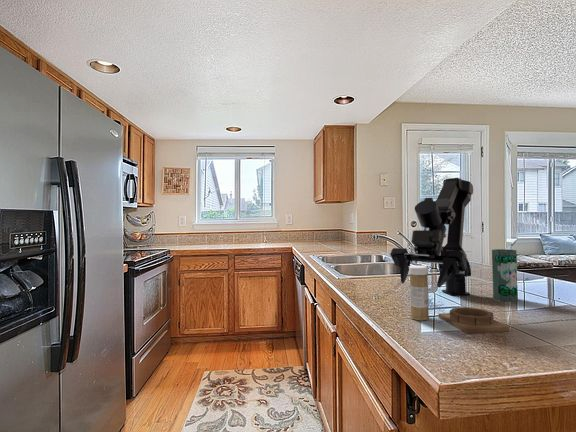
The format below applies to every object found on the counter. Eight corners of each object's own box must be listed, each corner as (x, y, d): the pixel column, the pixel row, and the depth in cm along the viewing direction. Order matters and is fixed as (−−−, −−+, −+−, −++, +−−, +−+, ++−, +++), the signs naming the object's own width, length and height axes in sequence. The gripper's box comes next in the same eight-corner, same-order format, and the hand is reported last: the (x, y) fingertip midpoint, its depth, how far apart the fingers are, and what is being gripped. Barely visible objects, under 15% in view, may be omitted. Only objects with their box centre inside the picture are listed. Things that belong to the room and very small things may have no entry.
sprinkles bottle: (419, 314, 90) (417, 264, 90) (433, 319, 86) (432, 266, 86) (406, 317, 88) (405, 266, 88) (420, 322, 84) (418, 268, 84)
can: (505, 302, 100) (503, 251, 100) (489, 297, 106) (487, 249, 106) (522, 300, 101) (521, 250, 101) (505, 296, 107) (504, 248, 107)
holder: (438, 317, 87) (438, 306, 87) (475, 315, 88) (475, 304, 88) (466, 333, 75) (466, 320, 75) (509, 330, 76) (508, 318, 76)
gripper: (391, 220, 97) (375, 262, 89) (462, 218, 85) (451, 268, 77) (403, 245, 103) (389, 287, 95) (470, 247, 91) (461, 296, 83)
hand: (419, 284), depth 87 cm, fingers open, 9 cm apart
